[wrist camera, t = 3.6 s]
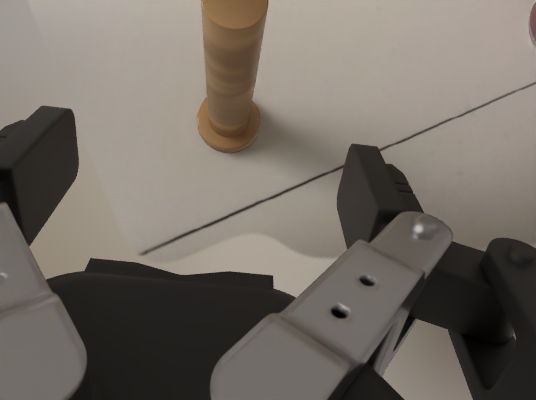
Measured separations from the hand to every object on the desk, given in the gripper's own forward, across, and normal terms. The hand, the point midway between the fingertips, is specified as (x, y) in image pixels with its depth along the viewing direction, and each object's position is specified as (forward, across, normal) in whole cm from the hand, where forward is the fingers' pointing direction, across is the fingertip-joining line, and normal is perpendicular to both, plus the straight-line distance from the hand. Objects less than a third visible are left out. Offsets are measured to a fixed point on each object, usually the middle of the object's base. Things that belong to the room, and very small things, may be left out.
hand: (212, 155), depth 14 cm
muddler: (+16, 0, +6) cm, 17 cm away
